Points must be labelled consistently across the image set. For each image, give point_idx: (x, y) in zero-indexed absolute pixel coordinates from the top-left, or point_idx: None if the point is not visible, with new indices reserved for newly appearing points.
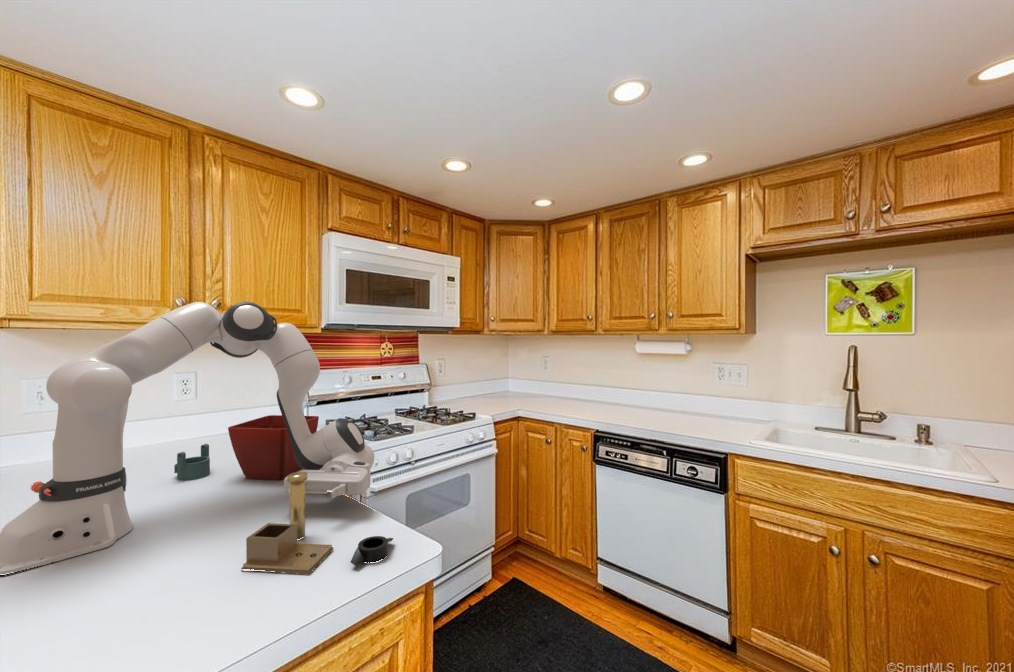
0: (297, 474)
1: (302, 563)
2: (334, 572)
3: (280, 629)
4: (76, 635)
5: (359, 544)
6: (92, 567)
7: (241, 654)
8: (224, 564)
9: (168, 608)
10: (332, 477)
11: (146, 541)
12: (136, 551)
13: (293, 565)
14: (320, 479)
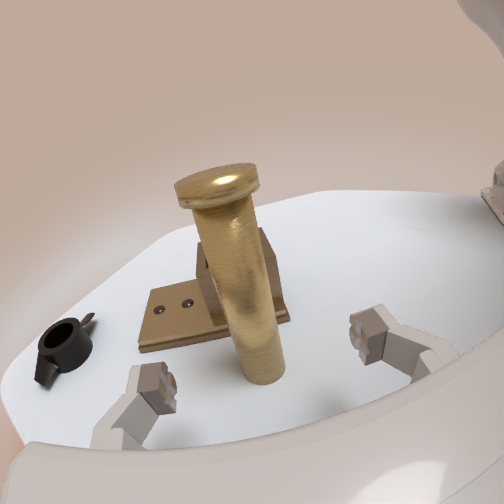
0: (215, 174)
1: (166, 292)
2: (120, 311)
3: (147, 252)
4: (317, 201)
5: (78, 326)
6: (455, 214)
7: (164, 236)
8: (318, 267)
9: (282, 226)
10: (209, 499)
11: (500, 243)
12: (472, 234)
13: (178, 285)
14: (290, 434)
